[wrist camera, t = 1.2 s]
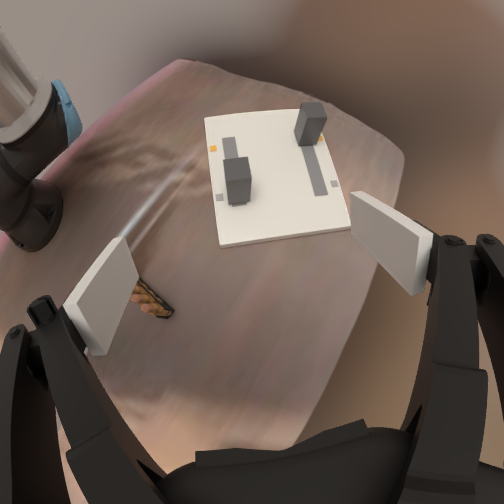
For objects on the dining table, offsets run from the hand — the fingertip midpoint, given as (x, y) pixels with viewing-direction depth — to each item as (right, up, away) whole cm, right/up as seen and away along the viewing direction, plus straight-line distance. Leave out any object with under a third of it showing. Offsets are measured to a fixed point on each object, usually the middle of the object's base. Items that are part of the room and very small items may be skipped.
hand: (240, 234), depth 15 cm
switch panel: (+4, +14, +34) cm, 36 cm away
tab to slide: (-2, +9, +29) cm, 31 cm away
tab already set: (+10, +20, +33) cm, 40 cm away
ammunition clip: (-16, -8, +28) cm, 33 cm away
